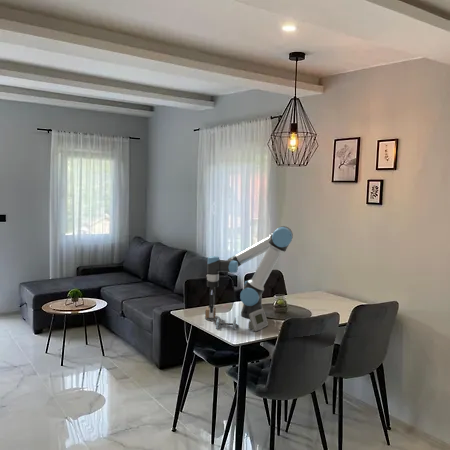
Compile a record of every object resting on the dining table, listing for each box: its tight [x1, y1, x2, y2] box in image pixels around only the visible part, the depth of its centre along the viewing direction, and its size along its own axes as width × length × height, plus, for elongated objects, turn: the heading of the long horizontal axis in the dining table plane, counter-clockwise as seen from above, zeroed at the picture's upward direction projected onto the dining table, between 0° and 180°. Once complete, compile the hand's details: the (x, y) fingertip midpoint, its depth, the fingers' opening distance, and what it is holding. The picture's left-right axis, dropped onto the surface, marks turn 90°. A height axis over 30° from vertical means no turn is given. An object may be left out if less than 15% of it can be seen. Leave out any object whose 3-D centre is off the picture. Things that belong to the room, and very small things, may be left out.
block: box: [204, 306, 217, 319], centre depth 295 cm, size 6×6×5 cm
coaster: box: [204, 315, 219, 321], centre depth 295 cm, size 9×9×1 cm
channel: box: [215, 316, 237, 330], centre depth 277 cm, size 11×12×4 cm
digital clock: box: [248, 308, 269, 332], centre depth 274 cm, size 16×9×11 cm, turn 136°
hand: (211, 316), depth 295 cm, fingers closed on block, 6 cm apart
